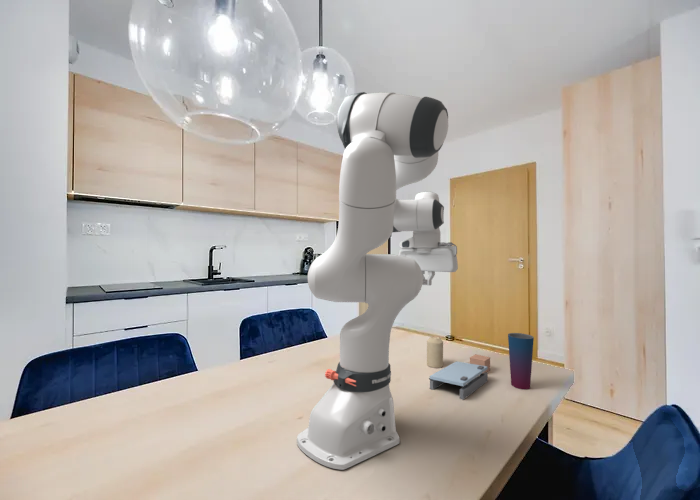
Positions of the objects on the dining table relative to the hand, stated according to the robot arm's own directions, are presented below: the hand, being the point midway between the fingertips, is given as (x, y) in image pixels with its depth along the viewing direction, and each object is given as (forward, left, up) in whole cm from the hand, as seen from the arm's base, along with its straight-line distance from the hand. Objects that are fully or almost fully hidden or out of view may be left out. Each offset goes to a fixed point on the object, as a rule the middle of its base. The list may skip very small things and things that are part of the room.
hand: (426, 285), depth 104 cm
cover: (0, -11, -26) cm, 28 cm away
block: (+16, -11, -29) cm, 35 cm away
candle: (+10, +2, -29) cm, 31 cm away
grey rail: (0, -11, -29) cm, 31 cm away
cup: (+12, -25, -29) cm, 40 cm away
